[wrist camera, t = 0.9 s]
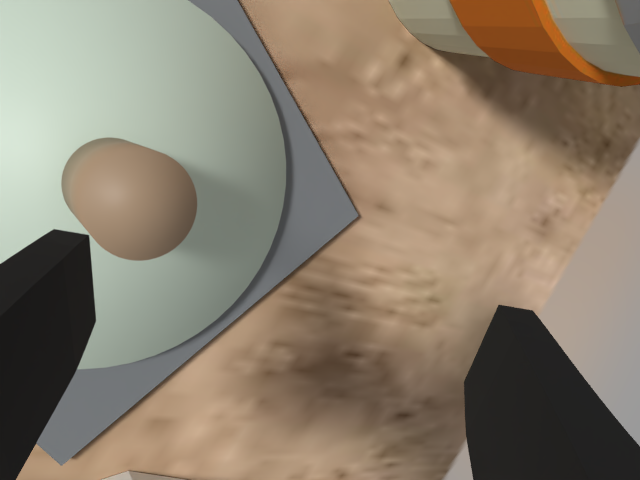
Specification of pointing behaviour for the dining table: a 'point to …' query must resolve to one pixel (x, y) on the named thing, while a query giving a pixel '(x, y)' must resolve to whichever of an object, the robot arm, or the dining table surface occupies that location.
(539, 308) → the dining table surface
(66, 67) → the lid
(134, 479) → the bowl
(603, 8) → the reusable coffee cup
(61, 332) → the robot arm
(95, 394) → the mat
